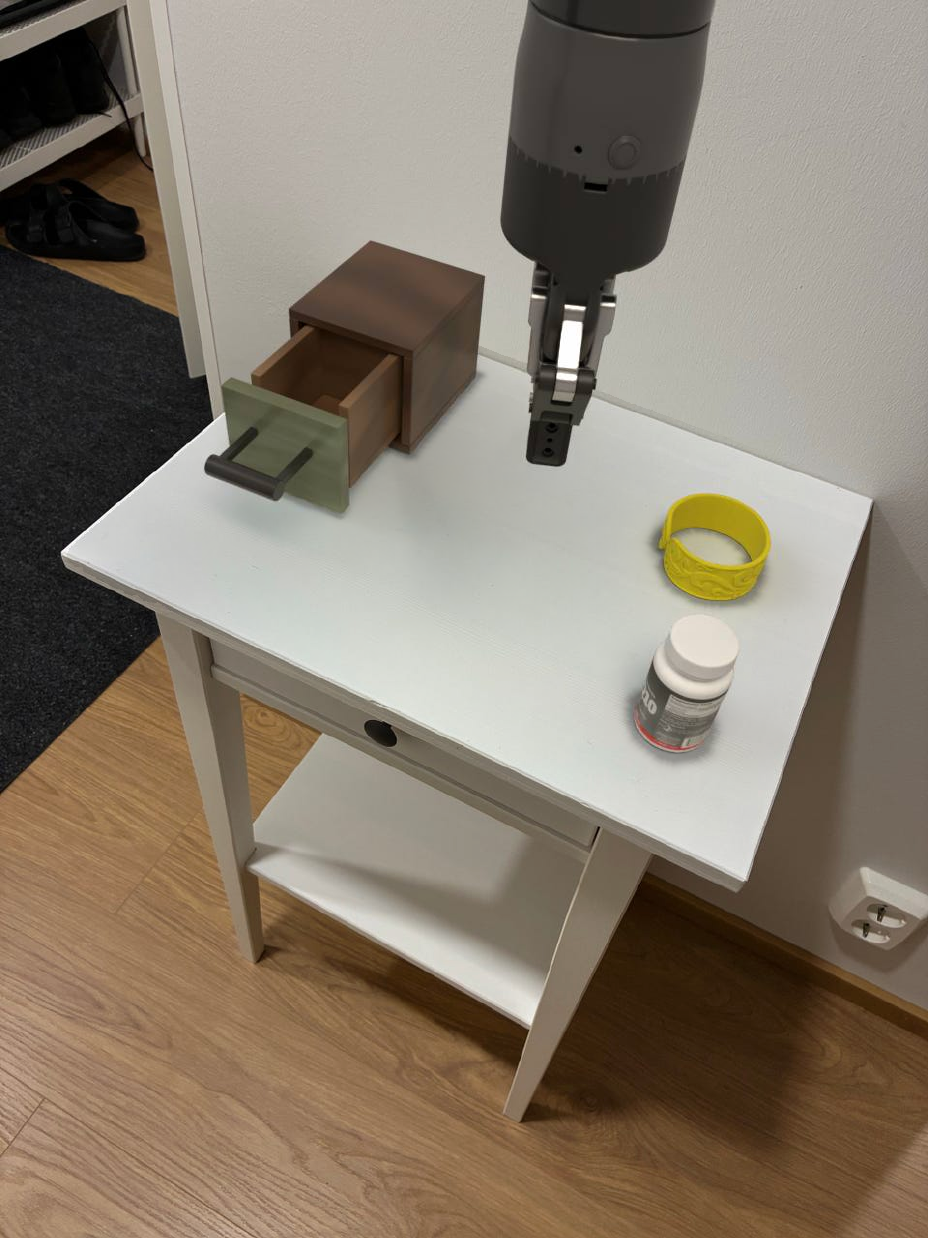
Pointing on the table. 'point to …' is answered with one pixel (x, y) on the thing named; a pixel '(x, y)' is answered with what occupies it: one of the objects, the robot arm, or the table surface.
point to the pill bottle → (687, 683)
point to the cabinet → (405, 325)
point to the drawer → (311, 418)
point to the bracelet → (723, 518)
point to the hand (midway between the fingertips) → (545, 457)
